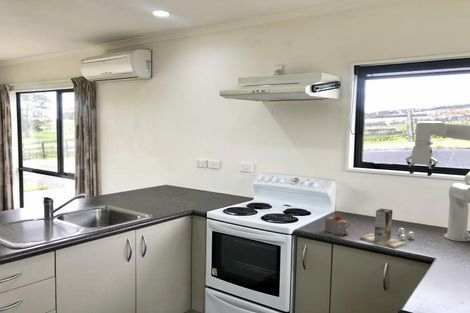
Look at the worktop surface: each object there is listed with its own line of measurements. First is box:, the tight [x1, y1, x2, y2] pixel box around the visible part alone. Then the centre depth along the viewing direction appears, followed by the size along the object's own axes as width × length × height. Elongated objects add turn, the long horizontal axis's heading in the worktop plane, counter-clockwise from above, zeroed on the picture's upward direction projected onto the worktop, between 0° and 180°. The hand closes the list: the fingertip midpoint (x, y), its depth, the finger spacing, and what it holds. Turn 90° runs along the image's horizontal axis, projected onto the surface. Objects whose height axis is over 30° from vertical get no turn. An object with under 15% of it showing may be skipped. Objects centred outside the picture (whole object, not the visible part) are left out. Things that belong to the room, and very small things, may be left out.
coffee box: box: [374, 208, 393, 242], centre depth 210 cm, size 9×6×16 cm
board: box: [359, 233, 407, 249], centre depth 211 cm, size 20×12×1 cm, turn 40°
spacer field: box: [398, 227, 415, 243], centre depth 220 cm, size 17×16×4 cm
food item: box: [324, 216, 350, 236], centre depth 224 cm, size 14×8×10 cm, turn 42°
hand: (420, 174), depth 216 cm, fingers open, 9 cm apart
